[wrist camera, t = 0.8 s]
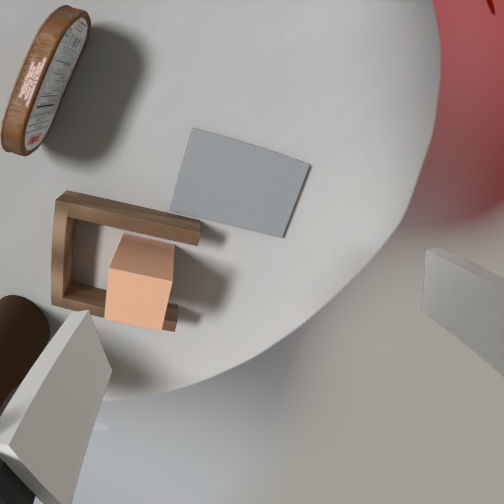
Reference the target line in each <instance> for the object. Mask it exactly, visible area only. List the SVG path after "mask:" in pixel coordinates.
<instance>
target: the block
mask: <svg viewBox="0 0 504 504" xmlns="http://www.w3.org/2000/svg"><path fill="white" fill-rule="evenodd" d="M174 251H175V245H174V244H170V243H165V242H161V241H156V240H152V239H147V238H143V237H138V236H134V235H129V234H125V233H124V234H123V236H122V239H121V241H120V243H119V246H118V248H117V250H116V253H115V255H114V257H113V260H112V262H111V265H110V267H109V274H108V283H107V292H106V303H105V315H104V319H106V320H111V321H115V322H120V323H125V324H129V325H134V326H139V327H144V328H150V329H155V330H160V331H162V326H163V322H164V317H165V313H166V308H167V304H168V299H169V295H170V291H171V287H172V282H173V267H174Z"/></svg>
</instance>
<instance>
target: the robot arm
mask: <svg viewBox="0 0 504 504" xmlns="http://www.w3.org/2000/svg"><path fill="white" fill-rule="evenodd" d="M423 287H424V288H423V298H422V307H421V310H422V311H423V312H424V313H426V314H427V315H428V316H430V317H431V318H432V319H434V320H435V321H436V322H437V323H439V324H440V325H441V326H442V327H444V328H445V329H446V330H447V331H449V332H450V333H451V334H452V335H454V336H455V337H456V338H458V339H459V340H460V341H461V342H462V343H464V344H465V345H466V346H467V347H469V348H470V349H471V350H472V351H473V352H475V353H476V354H477V355H478V356H479V357H481V358H482V359H483V360H484V361H486V362H487V363H488V364H489V365H490V366H491V367H493V368H494V369H495V370H496V371H497V372H498V373H500V374H501V375H502V376H503V377H504V278H503V277H501V276H499V275H497V274H495V273H493V272H491V271H489V270H487V269H485V268H483V267H481V266H479V265H477V264H475V263H473V262H470V261H468V260H466V259H464V258H462V257H460V256H458V255H455V254H453V253H451V252H449V251H447V250H445V249H442V248H440V247H437V248H432V249H428V250H426V254H425V274H424V286H423ZM111 374H112V369H111V366H110V364H109V362H108V359H107V357H106V354H105V352H104V349H103V347H102V344H101V342H100V339H99V336H98V334H97V331H96V328H95V326H94V323H93V320H92V317H91V314H90V311H89V310H84V311H77V312H72V313H71V314H70V315H69V316H68V318H67V319H66V320H65V322H64V323H63V324H62V326H61V327H60V328H59V330H58V331H57V332H56V334H55V335H54V337H53V338H52V339H51V341H50V342H49V343H48V345H47V346H46V348H45V349H44V350H43V352H42V353H41V355H40V356H39V358H38V359H37V361H36V362H35V363H34V365H33V366H32V368H31V369H30V371H29V372H28V374H27V375H26V377H25V378H24V380H23V381H22V383H20V384H19V385H18V386H17V387H16V388H15V389H13V390H12V391H11V392H10V393H9V395H8V396H7V398H6V399H5V401H4V403H3V406H1V407H0V504H33V502H34V499H35V496H36V497H37V498H38V499H39V500H40V501H41V502H42V503H44V504H72V501H73V496H74V493H75V489H76V485H77V481H78V477H79V474H80V470H81V466H82V462H83V459H84V456H85V453H86V449H87V446H88V442H89V439H90V436H91V433H92V430H93V426H94V423H95V420H96V417H97V414H98V411H99V408H100V405H101V402H102V399H103V396H104V393H105V390H106V388H107V385H108V382H109V379H110V376H111Z"/></svg>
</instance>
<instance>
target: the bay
mask: <svg viewBox="0 0 504 504" xmlns="http://www.w3.org/2000/svg"><path fill="white" fill-rule="evenodd" d="M76 219H80V220H84V221H88V222H93V223H97V224H102V225H106V226H110V227H115V228H119V229H124V230H128V231H132V232H137V233H141V234H146V235H150V236H155V237H159V238H164V239H168V240H173V241H177V242H182V243H186V244H191V245H195V246H198V242H199V239H200V235H201V226H200V220H196V219H192V218H187V217H183V216H179V215H175V214H170V213H166V212H162V211H157V210H153V209H149V208H144V207H140V206H135V205H131V204H127V203H122V202H118V201H113V200H109V199H104V198H100V197H95V196H91V195H86V194H81V193H77V192H72V191H68V190H67V191H66V192H65V193H63V194H62V195H61V196H60V197H59V198H57V199H56V202H55V212H54V223H53V238H52V261H51V301H52V305H55V306H58V307H62V308H66V309H70V310H74V311H84V310H89V311H90V314H91V315H95V316H99V317H103V318H104V315H105V303H106V292H107V290H103V289H99V288H95V287H90V286H86V285H82V284H78V283H74V282H71V267H72V251H73V239H74V229H75V220H76ZM176 324H177V305H174V304H169V303H168V304H167V308H166V313H165V317H164V322H163V326H162V330H167V331H173V332H175V329H176Z"/></svg>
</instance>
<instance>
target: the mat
mask: <svg viewBox="0 0 504 504" xmlns="http://www.w3.org/2000/svg"><path fill="white" fill-rule="evenodd" d="M309 165H310V164H308V163H305V162H302V161H299V160H297V159H294V158H291V157H288V156H285V155H282V154H279V153H276V152H273V151H270V150H267V149H264V148H261V147H257V146H254V145H251V144H248V143H245V142H241V141H238V140H235V139H231V138H228V137H224V136H221V135H217V134H214V133H210V132H206V131H203V130H199V129H195V128H193V129H192V133H191V136H190V139H189V143H188V146H187V149H186V153H185V156H184V159H183V163H182V166H181V170H180V174H179V177H178V181H177V184H176V188H175V192H174V196H173V199H172V203H171V207H170V211H173V212H177V213H182V214H186V215H190V216H194V217H199V218H203V219H207V220H211V221H215V222H219V223H224V224H228V225H232V226H236V227H240V228H244V229H248V230H252V231H256V232H260V233H264V234H268V235H272V236H276V237H280V238H282V236H283V233H284V231H285V228H286V226H287V223H288V220H289V218H290V215H291V213H292V210H293V207H294V205H295V202H296V200H297V197H298V194H299V192H300V189H301V186H302V184H303V181H304V178H305V176H306V173H307V170H308V168H309Z"/></svg>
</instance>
